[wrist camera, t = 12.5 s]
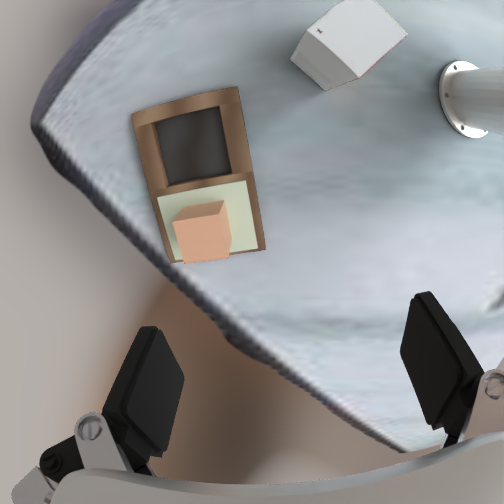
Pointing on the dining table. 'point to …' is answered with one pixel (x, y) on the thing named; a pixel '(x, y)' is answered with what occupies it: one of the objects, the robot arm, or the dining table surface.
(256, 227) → the hole board
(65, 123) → the dining table surface
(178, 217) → the terracotta cube
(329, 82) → the small box
